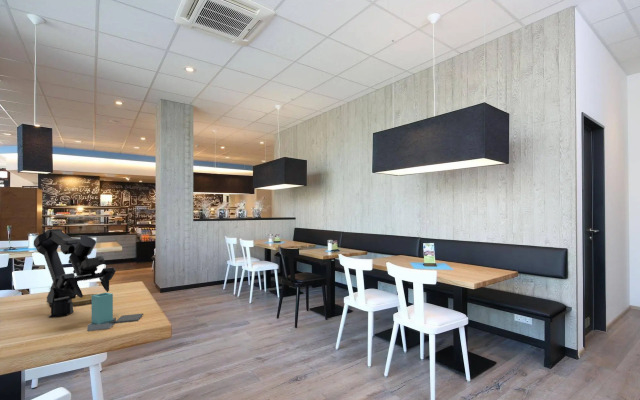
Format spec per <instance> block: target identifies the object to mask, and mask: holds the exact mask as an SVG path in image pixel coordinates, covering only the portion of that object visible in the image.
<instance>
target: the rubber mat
mask: <svg viewBox="0 0 640 400" xmlns="http://www.w3.org/2000/svg"><path fill="white" fill-rule="evenodd" d="M142 315H143V316H144V313H135V314H125V315H121V316H120V317H118V318H117V319H116V321H115V324H123V323H132V322H138V321H139V320H140V319H141V318H142V317H143V316H142Z"/></svg>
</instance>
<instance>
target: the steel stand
mask: <svg viewBox="0 0 640 400" xmlns="http://www.w3.org/2000/svg"><path fill="white" fill-rule="evenodd" d="M116 320H117V317H113V320H112V321H108V322H105V323H101V324H96V323H92V321H91V322H90V323H89V324H87V331H88V332H90V331H99V330H108V329H111V328H112V327H113V326H114V325H115V324H116V323H115V321H116Z"/></svg>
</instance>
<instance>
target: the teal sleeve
mask: <svg viewBox="0 0 640 400" xmlns="http://www.w3.org/2000/svg"><path fill="white" fill-rule="evenodd" d="M95 294H96V295H92V303H91V322H92V323H96V324H101V323H105V322H108V321H112V320H113V318H114V313H113V312H114V295H113V293H111V292H110V293H109V292H102V293H95Z"/></svg>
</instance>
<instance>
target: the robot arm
mask: <svg viewBox="0 0 640 400" xmlns="http://www.w3.org/2000/svg"><path fill="white" fill-rule="evenodd" d="M96 245H97V241H96V240H95V239H94V238H93V237H90V236H88V235H86V234H85V235H81V236H80V238H74V237H71V236H70V235H68V234H67V233H65V232H63V230H62V229H60V228H51V229H47V230H46V231H45V232H42V233H40V234H38V235H37V236H36V237H35V238H34V239H33V246H34V248H35V249H36V250H37V253H39V254H41V255H42V256H44V257H43V258H44V259H45V262H46V266H47V269H48V271H49V274H50V277H51V279H52V284H51V286H50V288H49V292H48V293H49V294H47V295H46V300H47V301H46V302H47V303H51V307H50V315H48V318H55V317H56V318H58V317H59V318H60V317H66V316H68V315H70V314H72V313H74V306H73V302H72V299H74V298H75V297H76V296H79V297H80V298H82V297H83V295H84V294H83V292H82V289H81V288H80V286H79V283H78V282H82V281H84V282H85V281H88V280H89V281H90V280H95V279H99V281H100V284H101V286H102V288H103V289H104V290H105V291H106V293H109V292H110V280H112V279H113V277H114V276H115V273H116V272H117V271H116V268H115V267H114V266H111V267H103V268H102V270H101V272H97V271H98V267H100V266H102V265H104V264H105V258H104V256H102V255H99V256H96V257H90V258H89V257H88V256H90V255H92V252H93V250H94V248H95V246H96ZM59 247H60V249H59V250H60V251H61V253H62V254H64V255H69V257H68V264H71V265H72V268H73V271H72V272H70V273H66V272H65V269H64V265H63V263H62V261H61V258H60V255H59V252H58V248H59Z"/></svg>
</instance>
